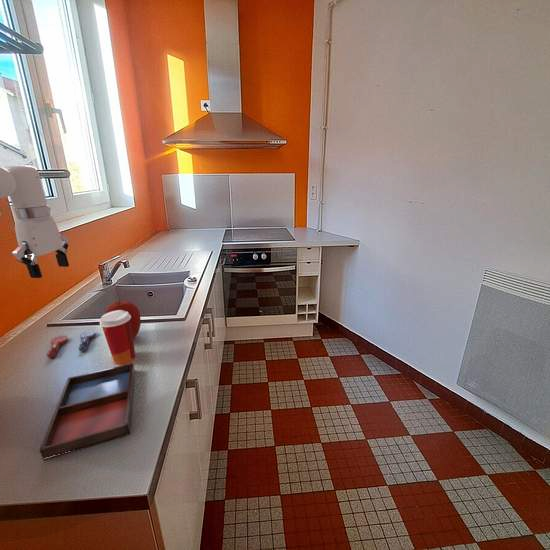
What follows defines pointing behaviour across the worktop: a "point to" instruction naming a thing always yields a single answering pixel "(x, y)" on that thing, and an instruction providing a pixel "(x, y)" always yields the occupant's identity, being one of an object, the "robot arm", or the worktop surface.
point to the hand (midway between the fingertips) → (51, 271)
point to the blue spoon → (86, 339)
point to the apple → (130, 309)
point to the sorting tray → (91, 410)
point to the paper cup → (119, 336)
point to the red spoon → (56, 345)
